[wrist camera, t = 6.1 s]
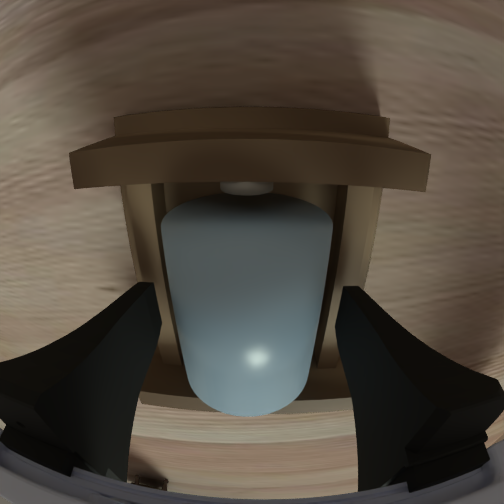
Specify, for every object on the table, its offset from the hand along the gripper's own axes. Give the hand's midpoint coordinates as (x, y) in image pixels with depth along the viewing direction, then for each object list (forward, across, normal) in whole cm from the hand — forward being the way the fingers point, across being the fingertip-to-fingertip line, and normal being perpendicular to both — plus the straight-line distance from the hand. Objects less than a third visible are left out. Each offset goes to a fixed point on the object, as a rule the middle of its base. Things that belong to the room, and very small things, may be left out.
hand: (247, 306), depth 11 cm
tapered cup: (+3, 0, 0) cm, 3 cm away
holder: (+4, 0, 0) cm, 4 cm away
